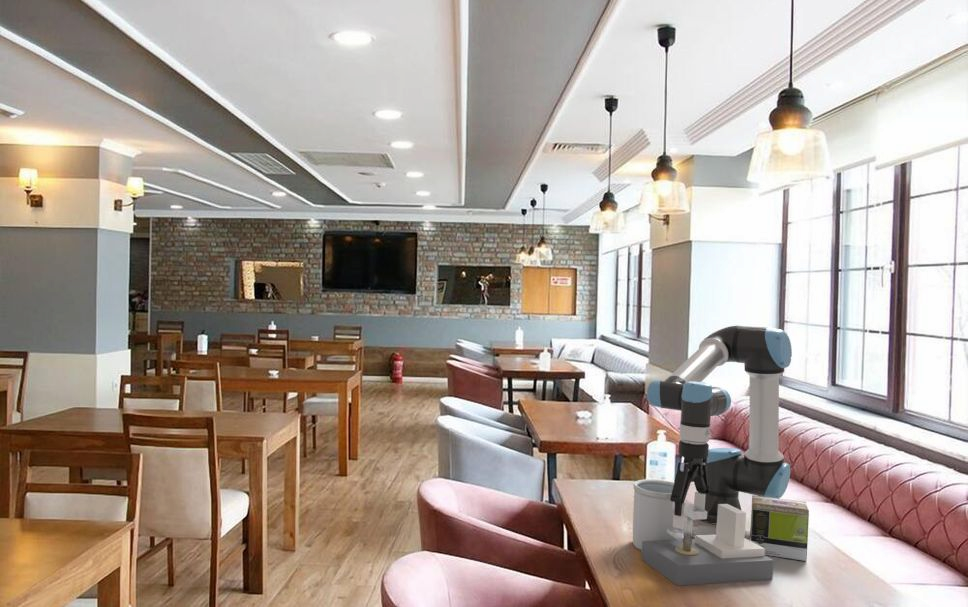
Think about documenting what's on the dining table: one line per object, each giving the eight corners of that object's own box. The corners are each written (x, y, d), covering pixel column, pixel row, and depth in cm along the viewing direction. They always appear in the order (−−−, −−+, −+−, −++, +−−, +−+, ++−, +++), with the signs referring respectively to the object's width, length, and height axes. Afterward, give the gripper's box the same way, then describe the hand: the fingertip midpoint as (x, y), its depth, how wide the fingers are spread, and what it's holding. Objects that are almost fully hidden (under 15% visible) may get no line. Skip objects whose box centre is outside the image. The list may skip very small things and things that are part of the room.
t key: (663, 538, 200) (666, 496, 200) (676, 538, 202) (679, 496, 201) (690, 556, 188) (693, 511, 187) (704, 556, 189) (707, 511, 189)
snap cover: (735, 540, 204) (738, 501, 204) (764, 556, 193) (767, 514, 193) (695, 542, 201) (697, 502, 200) (721, 558, 189) (724, 515, 189)
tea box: (803, 551, 215) (807, 501, 214) (806, 562, 205) (810, 509, 205) (748, 542, 219) (752, 493, 219) (749, 553, 210) (752, 501, 210)
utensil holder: (674, 559, 200) (678, 495, 200) (622, 547, 208) (626, 485, 208) (689, 546, 213) (693, 485, 213) (640, 534, 221) (644, 476, 221)
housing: (729, 554, 207) (730, 536, 207) (772, 579, 190) (773, 559, 190) (641, 559, 199) (642, 540, 199) (677, 585, 182) (679, 564, 182)
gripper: (688, 449, 180) (683, 536, 181) (725, 438, 200) (720, 516, 200) (660, 444, 185) (654, 528, 185) (698, 433, 205) (693, 510, 205)
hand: (688, 522), depth 193 cm, fingers open, 13 cm apart
